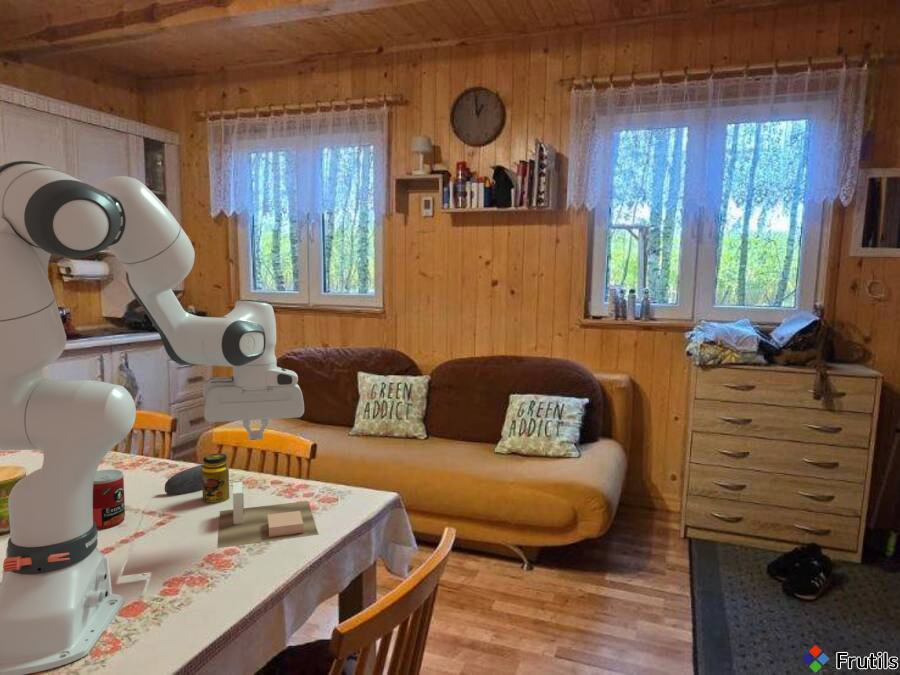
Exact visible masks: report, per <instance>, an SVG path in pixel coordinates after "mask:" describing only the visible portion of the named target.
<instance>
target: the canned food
mask: <svg viewBox="0 0 900 675" xmlns="http://www.w3.org/2000/svg"><path fill="white" fill-rule="evenodd" d="M123 473H124V472H123V471H122V470H118V469H101V470H97V471H96V474H95V478H94V483H93V521H94V522H95V523H96V528H97V530H105V529H110V528H113V527H116V526H118V525H121V524H122V523H123V522H124V521H125V518H126V509H125V505H126V504H125V483H124V482H125V479H124V478H125V477H124V474H123Z"/></svg>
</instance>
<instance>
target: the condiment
mask: <svg viewBox="0 0 900 675" xmlns="http://www.w3.org/2000/svg"><path fill="white" fill-rule="evenodd" d="M227 460H228V458H227V454H226V453H220V452H218V453H210V454H207V455H204V457H203V466H204V467H203V469H202V488H203V490H201V491H202V501H203V503H205V504H210V505H211V504H214V505H215V504H221V503H224V502H226V501H228V500H229V499H230V472H229V471H230V468H229V467H230V466H229V465H228V461H227Z"/></svg>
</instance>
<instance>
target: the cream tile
mask: <svg viewBox="0 0 900 675" xmlns="http://www.w3.org/2000/svg"><path fill="white" fill-rule="evenodd" d="M232 483H233V484H232V508H233V509H232V510H233V520H234V524H241V523H243V516H244V508H245V507H244V504H245V503H244V502H245V501H244V486H243V481H238V482H232Z"/></svg>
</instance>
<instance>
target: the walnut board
mask: <svg viewBox="0 0 900 675" xmlns="http://www.w3.org/2000/svg"><path fill="white" fill-rule="evenodd" d="M294 511H300V513H301V517H302V520H303V533H296V534H288V535H281V536H273V537H269V531H268V523H267V515H269V514H277V513H285V512H294ZM217 534H218V535H217V549H220V548H227V547H235V546H242V545H244V546H245V545H249V544H257V543H265V542H272V541H273V542H274V541H280V540H287V539H294V538H295V539H296V538H302V537H310V536H317V535H318V536H319V532H318V528H317V525H316V522H315V519H314V516H313V512H312V509H311V505H310V502H309V500H304V501H297V502H296V501H295V502H286V503H279V504H271V505H270V504H269V505H263V506H262V505H261V506H252V507H244V516H243V523H241V524H234V520H233V509H226V510H219V522H218V532H217Z"/></svg>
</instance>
